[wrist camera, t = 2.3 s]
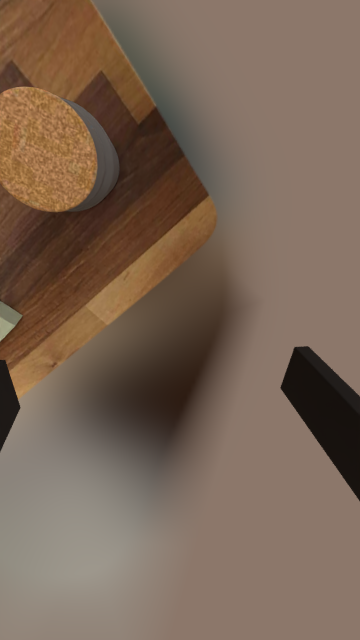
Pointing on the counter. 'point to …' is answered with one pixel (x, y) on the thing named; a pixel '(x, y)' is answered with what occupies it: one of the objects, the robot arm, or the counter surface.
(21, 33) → the counter surface
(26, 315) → the counter surface
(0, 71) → the counter surface
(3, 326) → the socket plate
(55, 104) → the bottle
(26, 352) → the counter surface
